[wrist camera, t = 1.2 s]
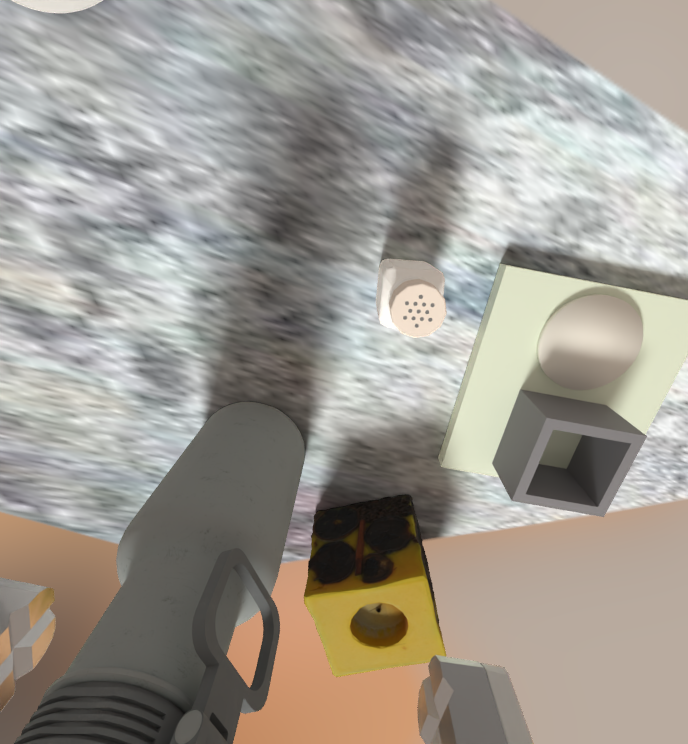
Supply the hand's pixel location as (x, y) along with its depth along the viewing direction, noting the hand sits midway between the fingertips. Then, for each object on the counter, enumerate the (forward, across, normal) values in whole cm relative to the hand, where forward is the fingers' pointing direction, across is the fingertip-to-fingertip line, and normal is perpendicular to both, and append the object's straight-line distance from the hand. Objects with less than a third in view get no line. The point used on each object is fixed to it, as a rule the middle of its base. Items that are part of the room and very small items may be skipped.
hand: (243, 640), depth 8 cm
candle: (+28, -8, +20) cm, 35 cm away
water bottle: (+27, +5, +11) cm, 30 cm away
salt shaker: (+26, -5, -6) cm, 27 cm away
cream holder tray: (+26, -20, 0) cm, 33 cm away
